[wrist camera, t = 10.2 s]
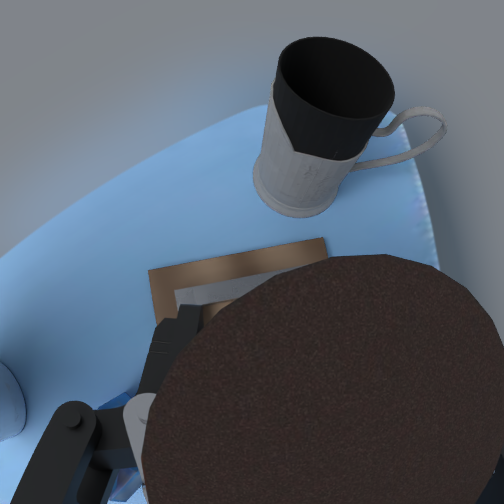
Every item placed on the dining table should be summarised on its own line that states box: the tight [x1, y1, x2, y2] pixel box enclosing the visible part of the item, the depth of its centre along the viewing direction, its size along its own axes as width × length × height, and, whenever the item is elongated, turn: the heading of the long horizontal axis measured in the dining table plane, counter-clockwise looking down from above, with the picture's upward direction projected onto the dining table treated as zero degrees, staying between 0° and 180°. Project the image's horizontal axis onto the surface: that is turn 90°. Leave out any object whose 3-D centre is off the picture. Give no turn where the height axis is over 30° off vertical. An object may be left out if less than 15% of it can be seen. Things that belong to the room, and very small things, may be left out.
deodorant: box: [141, 254, 504, 504], centre depth 11 cm, size 6×6×15 cm
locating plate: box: [148, 237, 328, 326], centre depth 26 cm, size 16×16×4 cm
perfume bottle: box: [97, 392, 142, 502], centre depth 19 cm, size 6×6×12 cm
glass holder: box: [253, 37, 447, 218], centre depth 24 cm, size 9×14×15 cm, turn 85°
